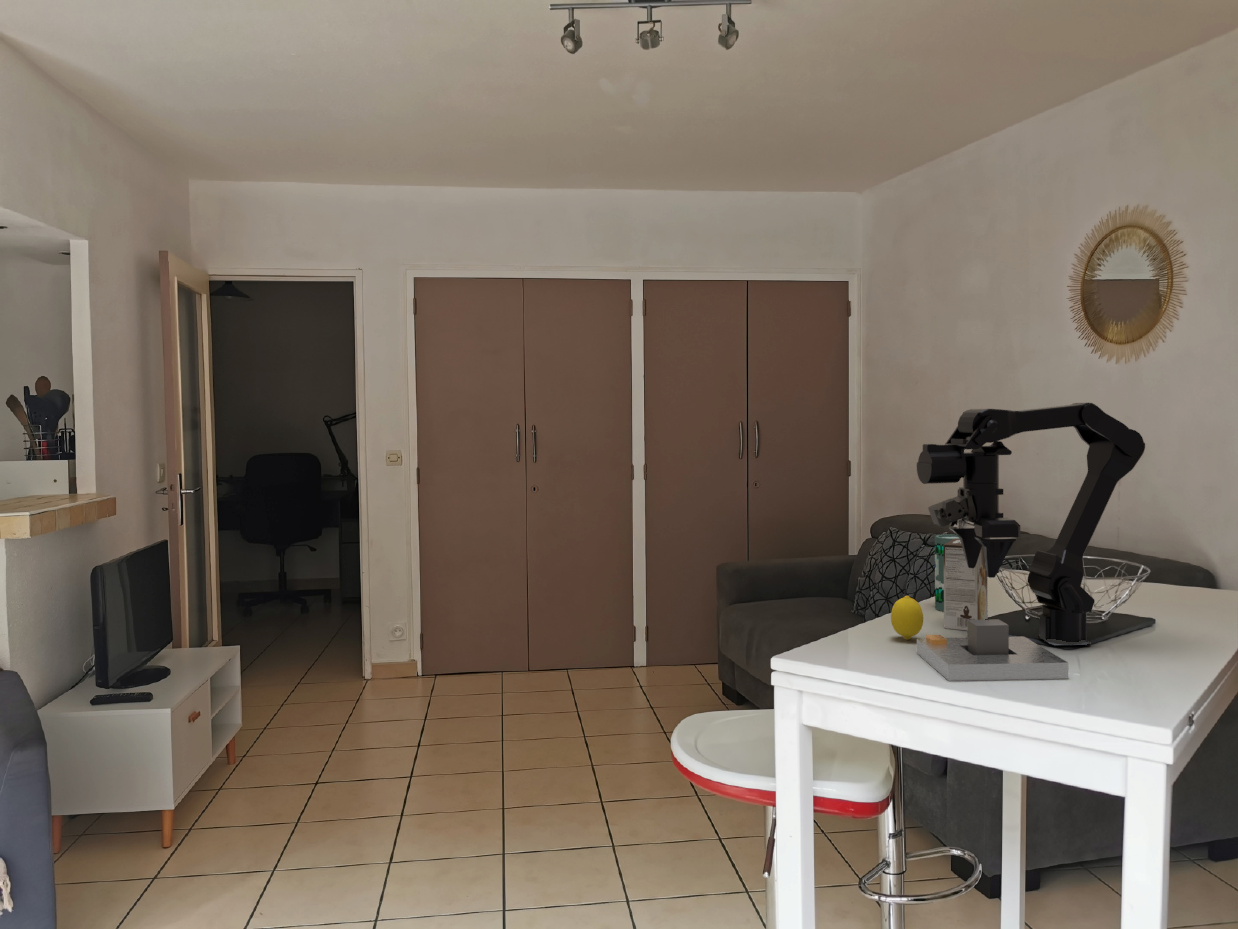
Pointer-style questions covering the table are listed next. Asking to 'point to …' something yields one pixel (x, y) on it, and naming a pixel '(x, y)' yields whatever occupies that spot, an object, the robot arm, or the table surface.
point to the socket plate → (990, 660)
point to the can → (940, 569)
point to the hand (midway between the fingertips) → (981, 572)
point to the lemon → (907, 617)
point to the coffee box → (963, 587)
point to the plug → (988, 637)
